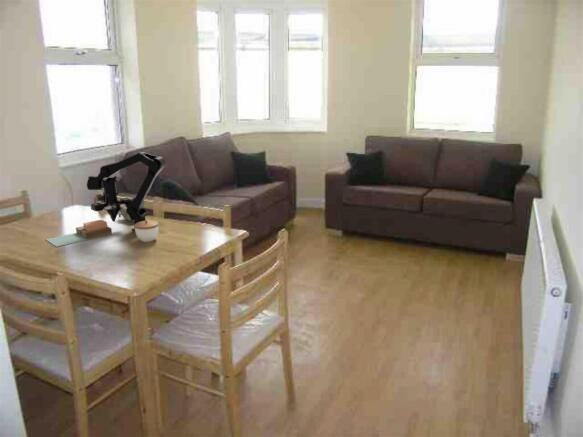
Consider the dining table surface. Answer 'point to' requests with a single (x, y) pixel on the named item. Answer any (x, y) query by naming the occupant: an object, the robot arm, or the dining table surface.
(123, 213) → the decorative bird
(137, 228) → the lidded jar
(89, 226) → the reddish orange flat block
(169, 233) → the dining table surface
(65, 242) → the mat
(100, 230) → the block
